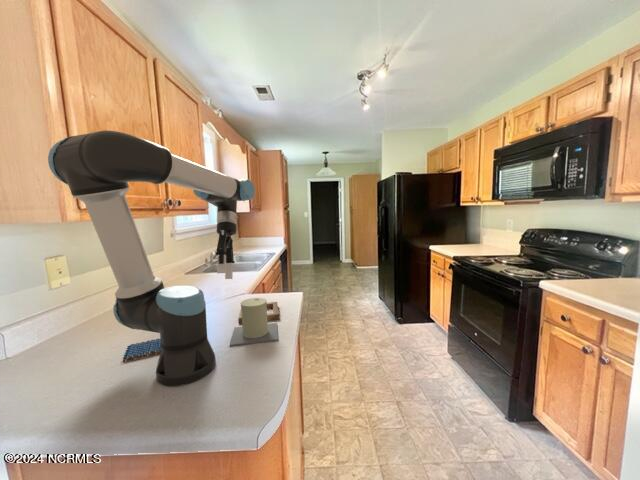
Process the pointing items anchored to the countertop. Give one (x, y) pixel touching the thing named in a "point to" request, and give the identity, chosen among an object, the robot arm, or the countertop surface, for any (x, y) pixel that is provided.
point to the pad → (241, 340)
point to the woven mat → (142, 350)
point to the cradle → (270, 315)
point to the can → (254, 317)
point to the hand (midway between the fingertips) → (225, 276)
